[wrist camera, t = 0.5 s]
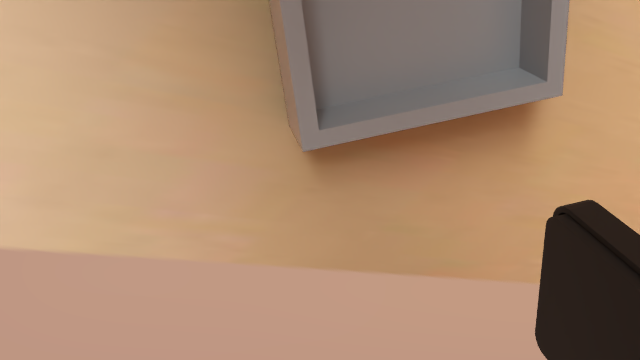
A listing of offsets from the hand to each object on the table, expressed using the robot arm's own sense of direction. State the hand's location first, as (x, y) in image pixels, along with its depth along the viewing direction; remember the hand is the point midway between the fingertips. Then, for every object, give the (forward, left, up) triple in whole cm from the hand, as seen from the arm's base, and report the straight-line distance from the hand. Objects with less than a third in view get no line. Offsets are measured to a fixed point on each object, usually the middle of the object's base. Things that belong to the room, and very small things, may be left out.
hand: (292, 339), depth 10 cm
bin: (0, +13, -30) cm, 33 cm away
